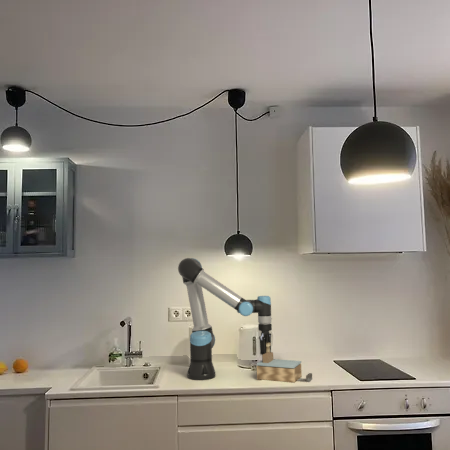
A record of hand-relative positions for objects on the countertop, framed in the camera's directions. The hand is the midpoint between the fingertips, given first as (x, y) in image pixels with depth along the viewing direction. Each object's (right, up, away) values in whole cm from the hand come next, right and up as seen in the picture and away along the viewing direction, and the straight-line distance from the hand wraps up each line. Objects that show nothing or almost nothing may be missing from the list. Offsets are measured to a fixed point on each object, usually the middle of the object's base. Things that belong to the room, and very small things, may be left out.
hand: (266, 365), depth 252 cm
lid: (+5, +7, -19) cm, 21 cm away
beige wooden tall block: (0, -1, 0) cm, 1 cm away
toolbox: (+8, -1, -21) cm, 23 cm away
